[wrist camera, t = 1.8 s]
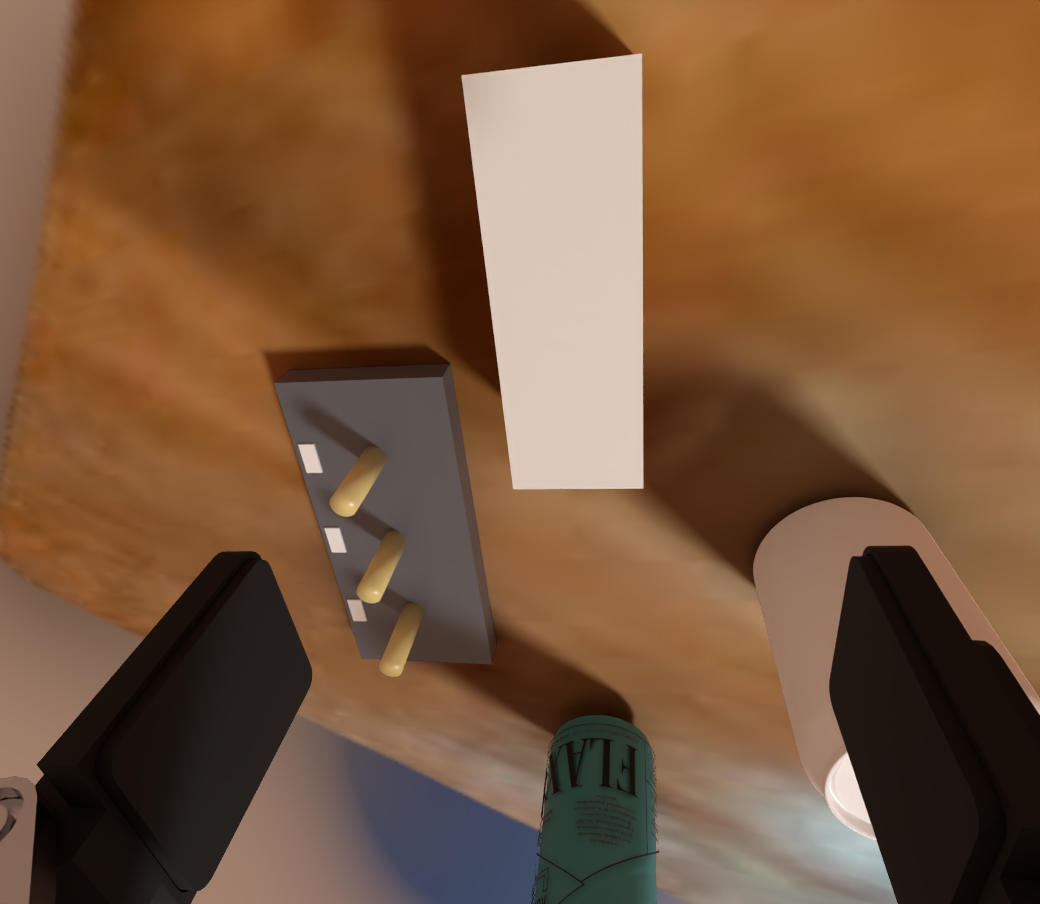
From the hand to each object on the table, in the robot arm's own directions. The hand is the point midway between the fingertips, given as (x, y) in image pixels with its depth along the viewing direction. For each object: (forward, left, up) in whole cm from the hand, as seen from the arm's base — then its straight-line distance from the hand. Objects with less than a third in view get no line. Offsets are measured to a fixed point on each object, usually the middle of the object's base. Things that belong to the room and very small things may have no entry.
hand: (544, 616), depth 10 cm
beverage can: (+14, +11, -19) cm, 26 cm away
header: (+12, -11, -19) cm, 25 cm away
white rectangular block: (-1, -1, -19) cm, 19 cm away
